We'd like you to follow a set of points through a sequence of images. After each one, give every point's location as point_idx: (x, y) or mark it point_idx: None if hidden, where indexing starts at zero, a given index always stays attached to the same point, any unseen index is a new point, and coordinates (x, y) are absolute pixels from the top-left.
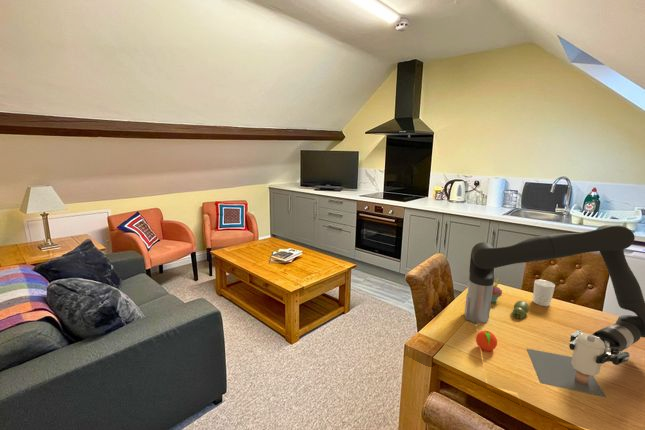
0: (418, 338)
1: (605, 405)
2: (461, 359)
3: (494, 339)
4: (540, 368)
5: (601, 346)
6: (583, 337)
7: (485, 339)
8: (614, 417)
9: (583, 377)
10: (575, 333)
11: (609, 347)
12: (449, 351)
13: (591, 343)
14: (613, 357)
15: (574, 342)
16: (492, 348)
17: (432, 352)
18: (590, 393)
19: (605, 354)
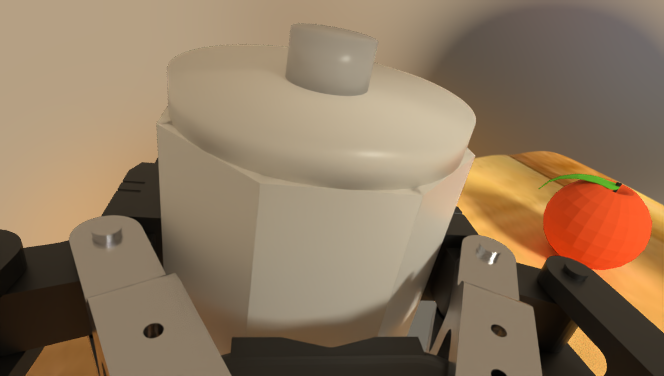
0: (585, 168)
1: (82, 372)
2: (493, 180)
3: (580, 201)
4: (426, 322)
5: (181, 54)
6: (393, 85)
7: (571, 183)
8: None
9: None
10: (656, 341)
11: (118, 344)
12: (532, 181)
13: (276, 57)
14: (30, 259)
15: None
16: (545, 223)
17: (520, 158)
18: None
19: (135, 207)
